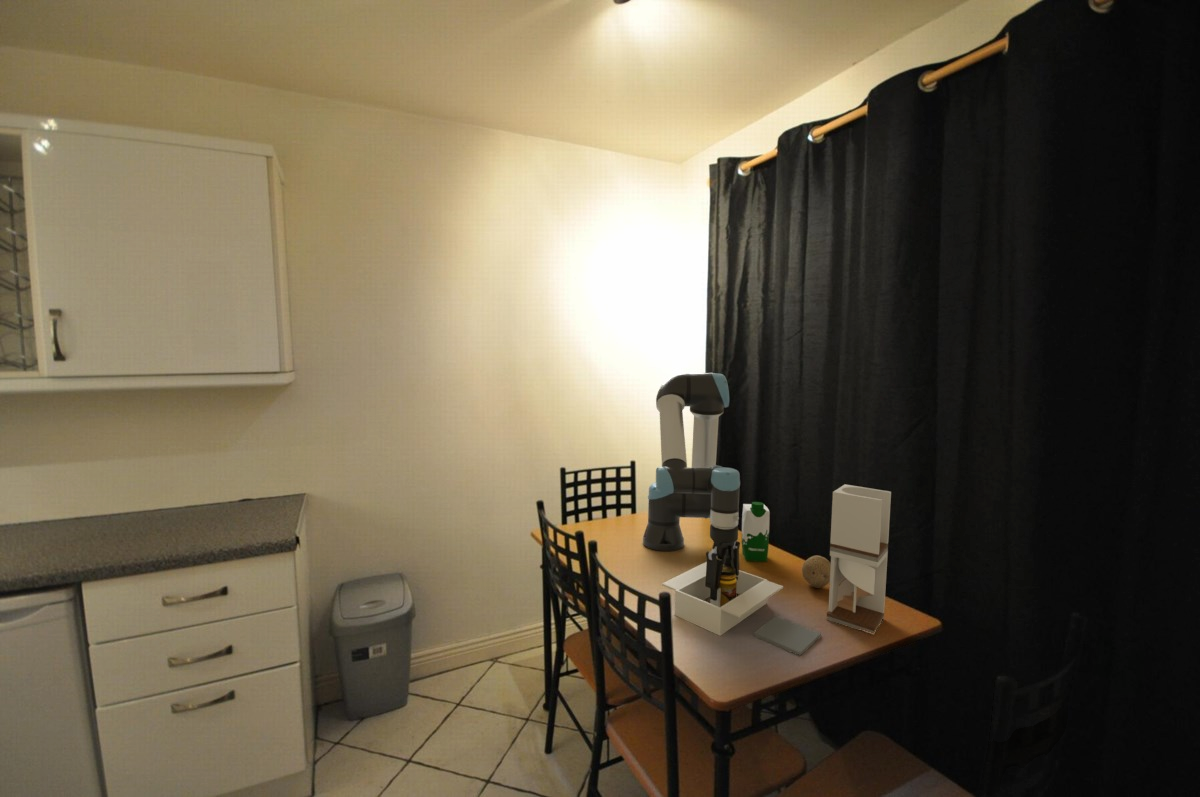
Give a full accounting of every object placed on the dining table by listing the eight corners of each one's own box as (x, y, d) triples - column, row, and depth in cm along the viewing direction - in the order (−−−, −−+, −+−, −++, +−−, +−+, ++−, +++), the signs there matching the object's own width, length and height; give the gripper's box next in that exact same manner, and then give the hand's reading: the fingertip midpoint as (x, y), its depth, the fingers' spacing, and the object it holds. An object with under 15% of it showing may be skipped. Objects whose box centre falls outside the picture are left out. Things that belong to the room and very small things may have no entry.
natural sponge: (830, 598, 150) (831, 564, 149) (798, 590, 155) (799, 558, 154) (834, 586, 158) (835, 554, 157) (803, 579, 162) (804, 548, 162)
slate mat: (753, 635, 130) (753, 632, 130) (776, 618, 138) (776, 615, 138) (800, 655, 121) (800, 652, 121) (821, 636, 130) (821, 633, 130)
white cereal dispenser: (826, 620, 138) (832, 491, 135) (838, 605, 146) (844, 484, 143) (873, 635, 130) (881, 500, 127) (883, 619, 138) (891, 491, 135)
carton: (660, 608, 143) (660, 584, 143) (709, 581, 160) (709, 560, 160) (737, 643, 126) (738, 616, 125) (783, 609, 143) (784, 585, 142)
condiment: (735, 618, 138) (737, 575, 137) (703, 612, 141) (705, 570, 140) (738, 606, 145) (739, 565, 144) (708, 600, 148) (709, 560, 147)
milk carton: (743, 562, 176) (745, 504, 174) (739, 551, 185) (741, 497, 183) (770, 563, 175) (772, 505, 173) (764, 553, 184) (766, 498, 182)
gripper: (716, 537, 132) (714, 623, 134) (754, 520, 145) (751, 599, 147) (692, 529, 137) (690, 612, 139) (730, 514, 150) (728, 590, 152)
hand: (721, 605), depth 143 cm, fingers closed on condiment, 6 cm apart
